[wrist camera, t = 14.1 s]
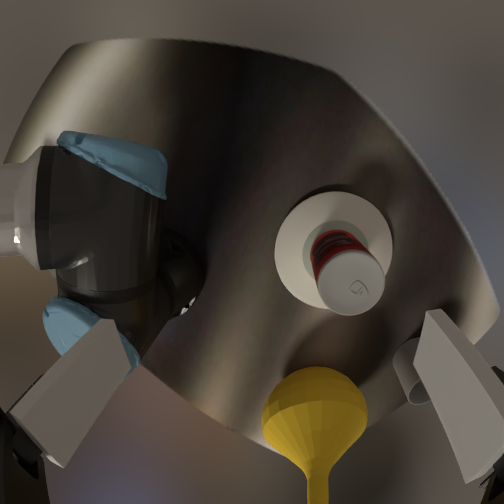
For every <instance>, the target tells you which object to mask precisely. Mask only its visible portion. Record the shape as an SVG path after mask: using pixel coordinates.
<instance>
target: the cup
mask: <svg viewBox="0 0 504 504" xmlns="http://www.w3.org/2000/svg"><path fill="white" fill-rule="evenodd" d="M419 340H420V337H418V338H414V339H410V340H408V341H407V342H405V343H404V344H402V345H401V346H400V347H399V348H398V349H397V351H396V352H395V354H394V357H393V366H394V368H395V371H396V373H397V375H398V377H399V380H400V382H401V384H402V387H403V389H404V391H405V394H406V396H407V399H408V401H409V402H411V403H412V404H419V405H420V404H423V403H426V402H429V401H431V399H430V397H429V394H428V392H427V390H426V388H425V386H424V384H423V382H422V380H421V378H420V376H419V375H418V373H417V371H416V369H415V367H414V365H413V362H414V358H415V355H416V351H417V348H418V344H419Z"/></svg>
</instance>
